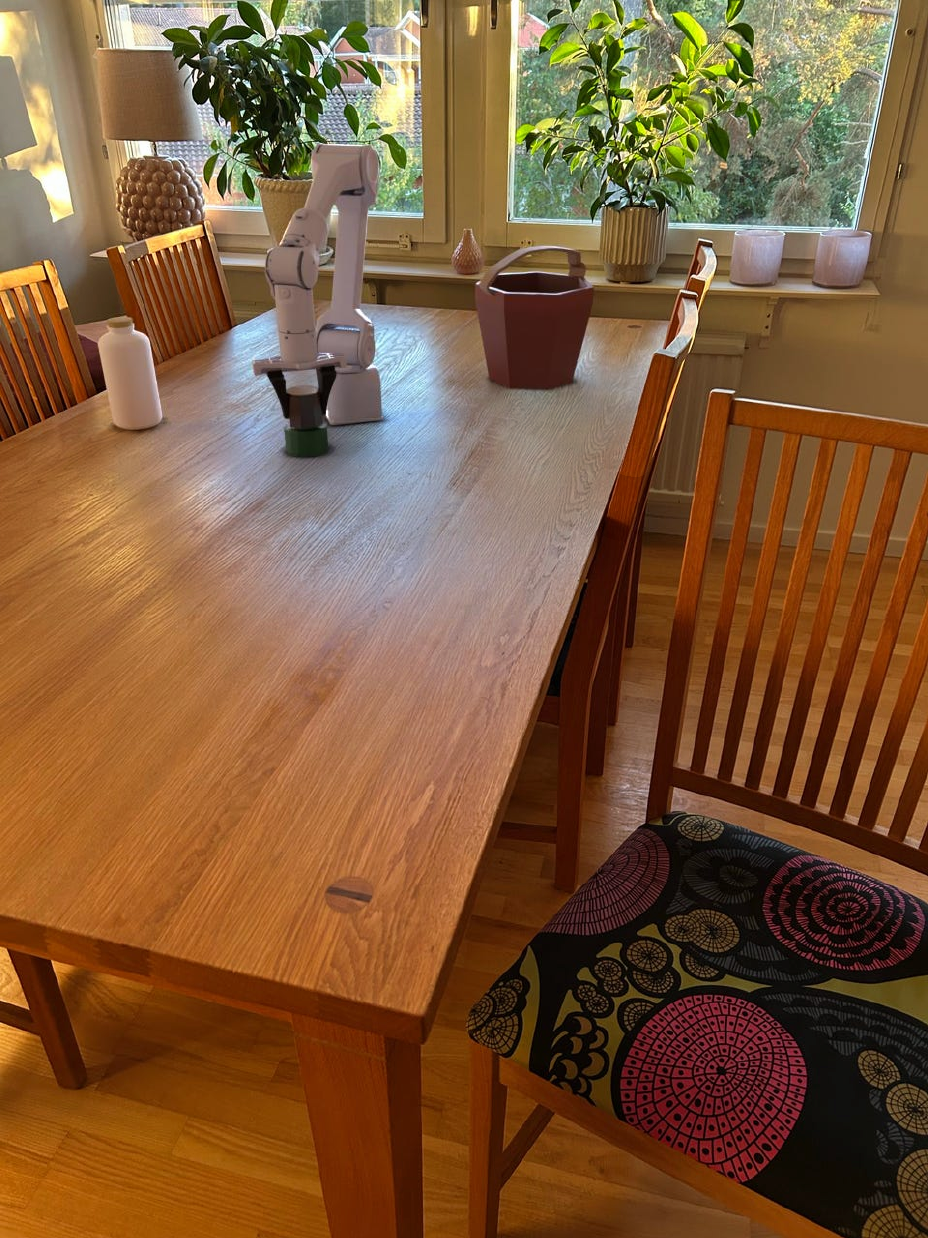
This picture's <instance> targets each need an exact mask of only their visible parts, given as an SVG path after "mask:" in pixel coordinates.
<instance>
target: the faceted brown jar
mask: <svg viewBox="0 0 928 1238" xmlns="http://www.w3.org/2000/svg"><path fill="white" fill-rule="evenodd" d="M286 393H287V403H288V409H289V419H287V424H289V426H290V427H292V428H297V429H310V428H316V427H318V426H320V425H322V424H323V422H324V418H323V416H324V415H323V414H322V401H321V393H320V389H319V388H318V386H315V385H310V384H309V385H308V384H299V385H294V386H290V387H287V388H286Z"/></svg>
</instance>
